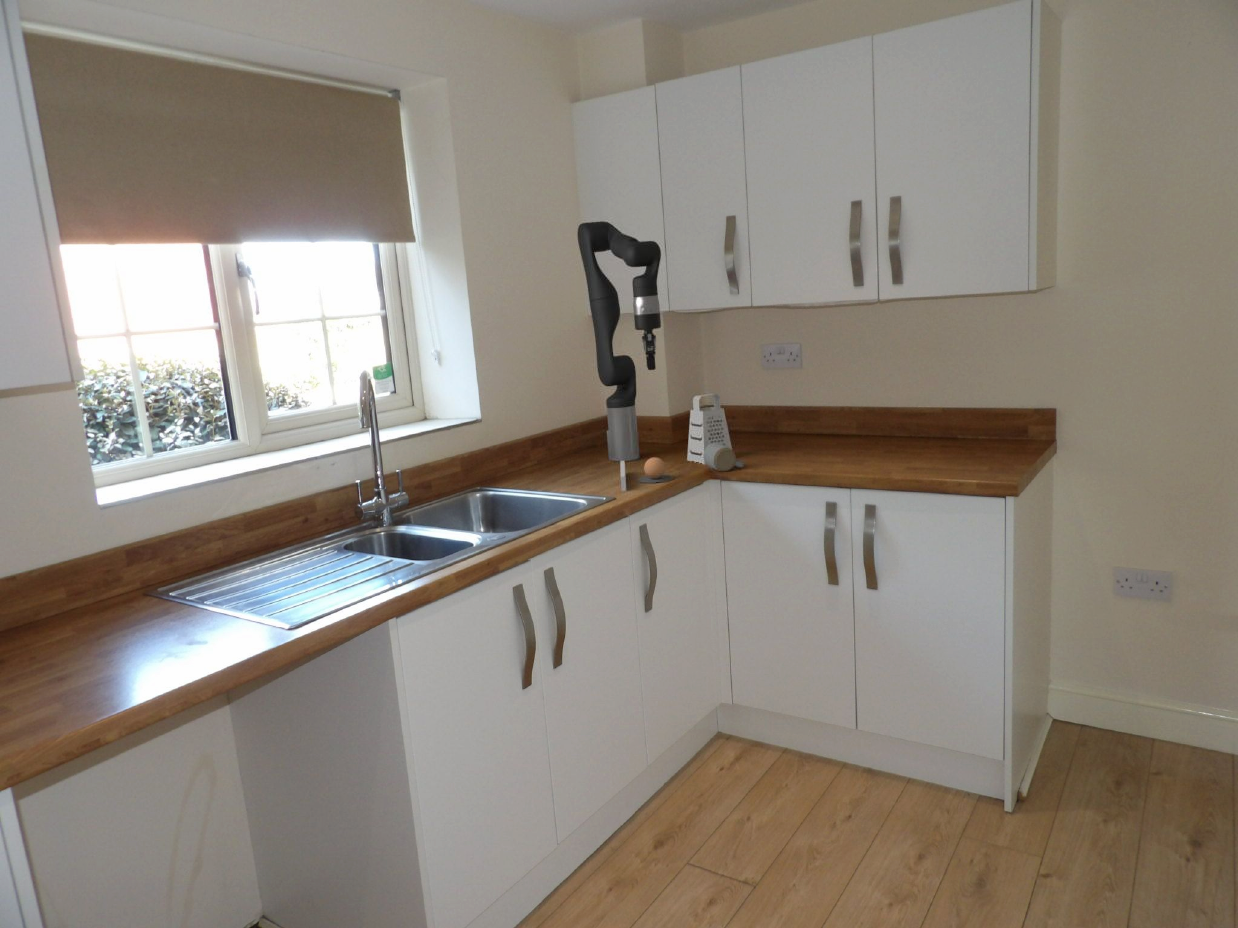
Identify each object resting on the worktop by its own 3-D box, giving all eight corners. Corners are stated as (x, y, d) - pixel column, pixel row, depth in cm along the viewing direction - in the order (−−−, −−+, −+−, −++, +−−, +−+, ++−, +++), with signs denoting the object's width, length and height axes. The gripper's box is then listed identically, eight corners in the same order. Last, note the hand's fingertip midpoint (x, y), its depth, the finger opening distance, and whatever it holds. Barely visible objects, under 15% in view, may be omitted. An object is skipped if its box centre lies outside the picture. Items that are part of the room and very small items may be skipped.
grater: (734, 459, 274) (730, 394, 270) (704, 464, 270) (699, 398, 266) (716, 455, 283) (711, 392, 280) (687, 460, 279) (682, 396, 276)
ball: (640, 479, 253) (638, 458, 252) (655, 475, 257) (653, 455, 256) (656, 481, 249) (654, 460, 248) (670, 477, 253) (669, 456, 252)
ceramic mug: (714, 473, 254) (713, 447, 253) (703, 469, 262) (702, 443, 261) (748, 469, 257) (747, 443, 256) (737, 465, 265) (735, 439, 264)
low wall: (621, 474, 265) (620, 461, 264) (625, 474, 265) (624, 460, 264) (621, 491, 242) (620, 476, 241) (626, 490, 241) (625, 476, 241)
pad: (630, 481, 253) (630, 480, 253) (654, 474, 260) (654, 473, 260) (656, 484, 246) (656, 483, 246) (680, 477, 253) (680, 476, 253)
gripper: (661, 311, 251) (665, 369, 254) (658, 311, 265) (663, 366, 268) (634, 314, 251) (638, 371, 254) (633, 313, 265) (637, 368, 268)
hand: (651, 368), depth 261 cm, fingers open, 8 cm apart
